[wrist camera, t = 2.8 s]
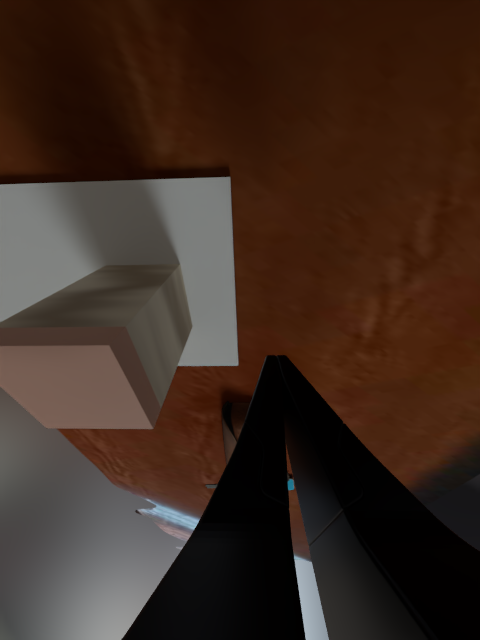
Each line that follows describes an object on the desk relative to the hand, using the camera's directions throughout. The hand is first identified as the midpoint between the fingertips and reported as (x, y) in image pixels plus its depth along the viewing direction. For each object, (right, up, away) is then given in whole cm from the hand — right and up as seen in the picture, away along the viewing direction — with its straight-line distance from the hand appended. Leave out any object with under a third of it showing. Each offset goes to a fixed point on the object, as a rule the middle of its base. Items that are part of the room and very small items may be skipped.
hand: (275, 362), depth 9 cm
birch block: (-8, +3, +6) cm, 10 cm away
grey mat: (-12, +4, +6) cm, 14 cm away
